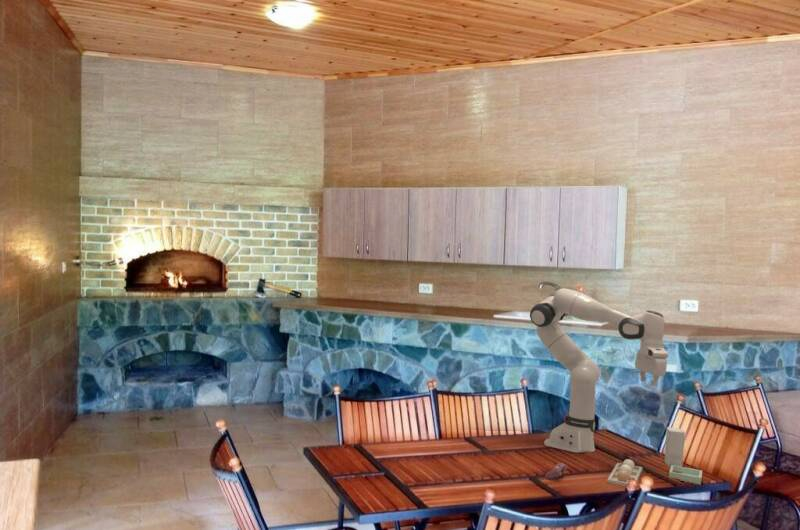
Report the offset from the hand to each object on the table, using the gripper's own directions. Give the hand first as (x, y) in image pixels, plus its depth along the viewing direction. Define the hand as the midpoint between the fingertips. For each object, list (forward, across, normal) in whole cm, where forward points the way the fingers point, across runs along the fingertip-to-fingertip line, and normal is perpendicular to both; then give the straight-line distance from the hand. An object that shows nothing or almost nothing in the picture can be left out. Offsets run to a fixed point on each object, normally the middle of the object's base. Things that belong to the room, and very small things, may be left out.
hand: (648, 383), depth 312 cm
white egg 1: (+35, +6, -9) cm, 36 cm away
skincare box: (+36, -8, +18) cm, 41 cm away
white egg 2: (+35, +14, -13) cm, 40 cm away
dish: (+36, +10, +14) cm, 40 cm away
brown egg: (+35, +21, -18) cm, 45 cm away
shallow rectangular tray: (+36, +14, -13) cm, 41 cm away
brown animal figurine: (+36, +15, -42) cm, 58 cm away
